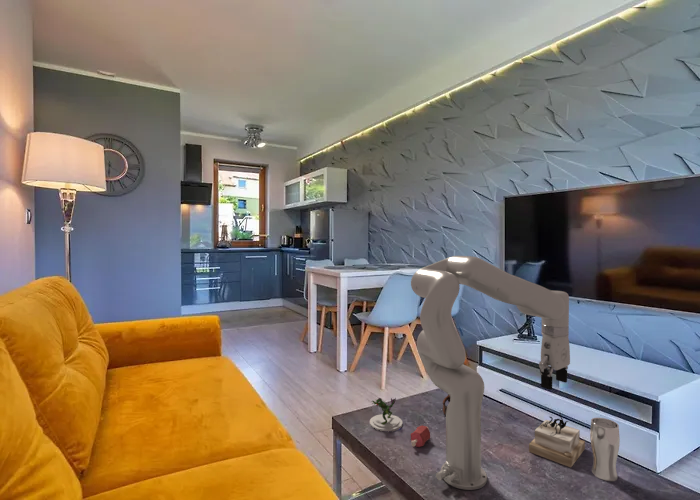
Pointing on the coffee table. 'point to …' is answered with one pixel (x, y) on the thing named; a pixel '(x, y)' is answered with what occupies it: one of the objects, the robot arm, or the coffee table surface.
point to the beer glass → (604, 448)
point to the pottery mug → (445, 402)
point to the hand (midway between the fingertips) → (554, 384)
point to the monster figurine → (385, 417)
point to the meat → (420, 436)
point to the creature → (556, 424)
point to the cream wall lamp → (557, 444)
